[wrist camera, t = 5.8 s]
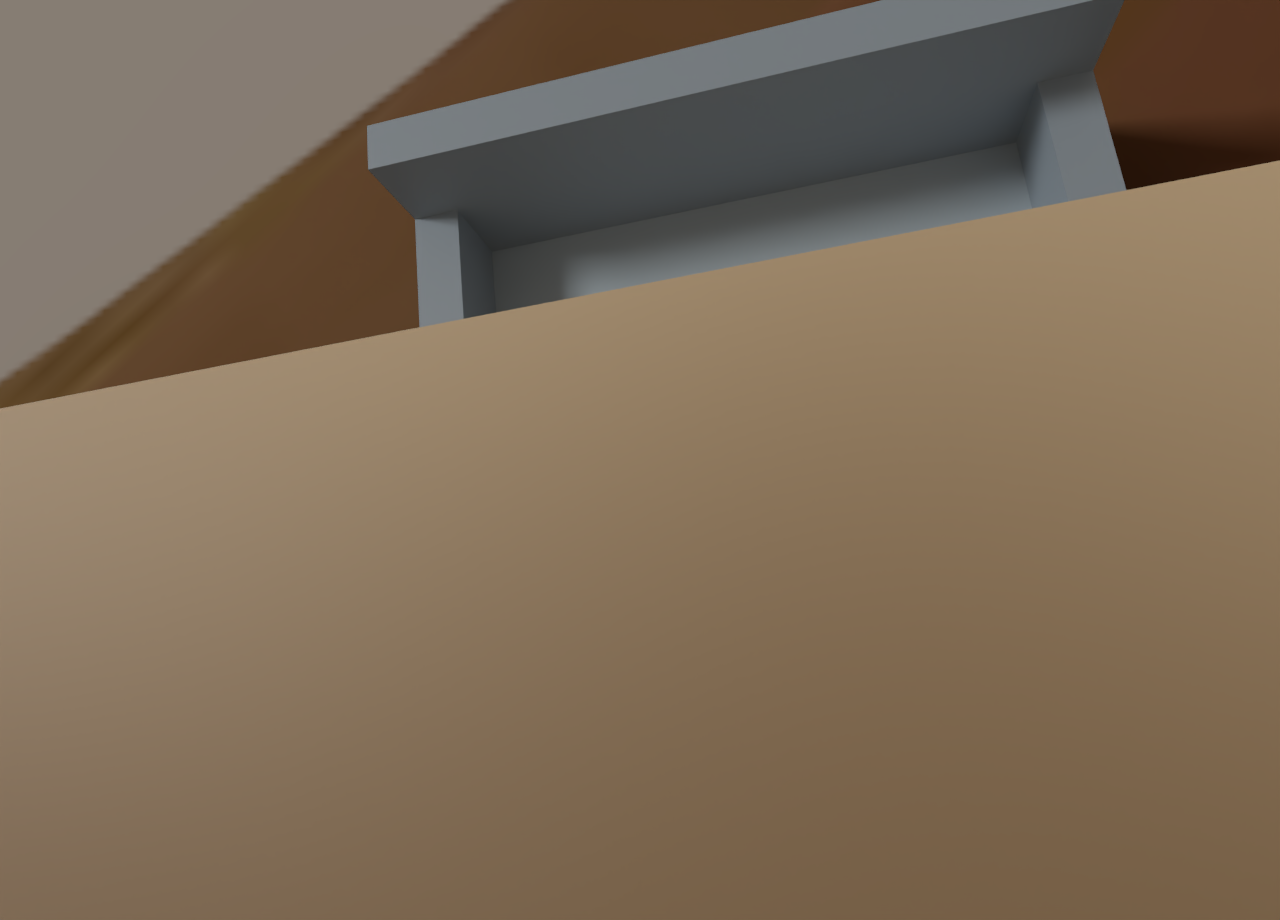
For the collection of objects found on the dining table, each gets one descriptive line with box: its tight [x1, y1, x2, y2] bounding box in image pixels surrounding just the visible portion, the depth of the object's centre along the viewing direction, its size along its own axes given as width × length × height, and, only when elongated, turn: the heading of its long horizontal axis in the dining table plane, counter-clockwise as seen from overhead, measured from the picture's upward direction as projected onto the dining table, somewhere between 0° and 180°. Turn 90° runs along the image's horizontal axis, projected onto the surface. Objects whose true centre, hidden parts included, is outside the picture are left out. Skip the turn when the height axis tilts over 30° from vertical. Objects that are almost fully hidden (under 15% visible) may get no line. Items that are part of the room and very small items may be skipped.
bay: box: [367, 0, 1126, 327], centre depth 15 cm, size 16×18×6 cm
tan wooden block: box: [0, 161, 1280, 920], centre depth 8 cm, size 5×6×13 cm
